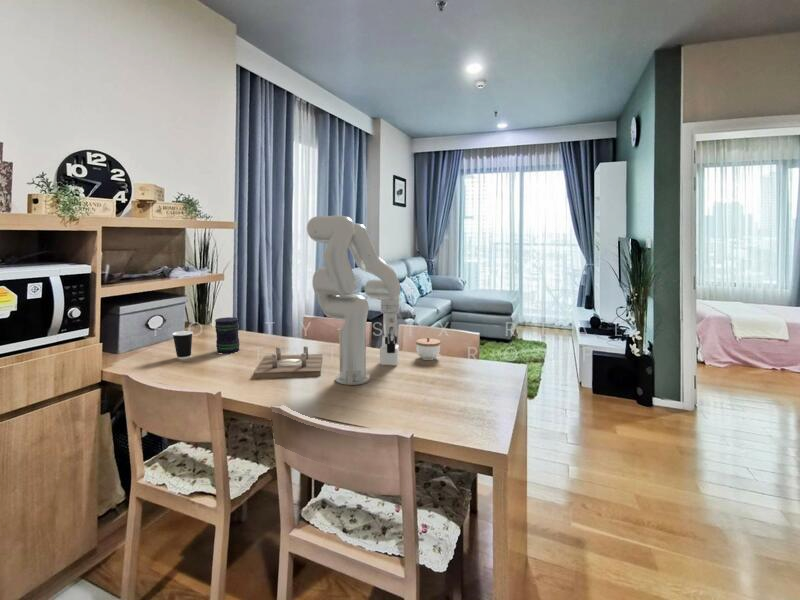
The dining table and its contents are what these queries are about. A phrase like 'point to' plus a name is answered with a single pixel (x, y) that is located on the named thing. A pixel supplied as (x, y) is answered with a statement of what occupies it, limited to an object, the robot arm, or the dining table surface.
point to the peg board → (289, 365)
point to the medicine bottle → (388, 357)
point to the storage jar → (227, 335)
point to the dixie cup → (183, 343)
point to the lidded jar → (428, 348)
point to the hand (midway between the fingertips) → (389, 349)
